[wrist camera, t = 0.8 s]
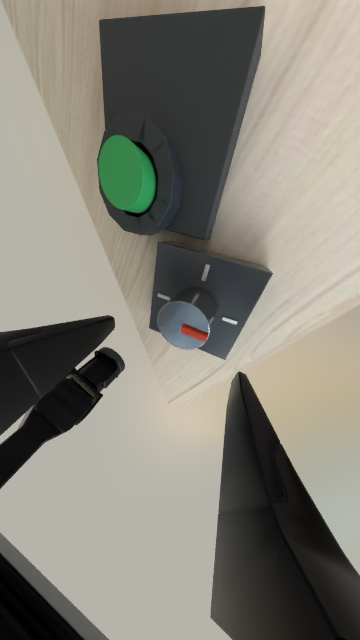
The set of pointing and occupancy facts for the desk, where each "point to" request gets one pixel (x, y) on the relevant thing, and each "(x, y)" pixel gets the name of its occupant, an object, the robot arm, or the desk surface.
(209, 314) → the program dial
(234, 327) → the dial panel
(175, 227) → the button block
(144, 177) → the button
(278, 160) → the desk surface
